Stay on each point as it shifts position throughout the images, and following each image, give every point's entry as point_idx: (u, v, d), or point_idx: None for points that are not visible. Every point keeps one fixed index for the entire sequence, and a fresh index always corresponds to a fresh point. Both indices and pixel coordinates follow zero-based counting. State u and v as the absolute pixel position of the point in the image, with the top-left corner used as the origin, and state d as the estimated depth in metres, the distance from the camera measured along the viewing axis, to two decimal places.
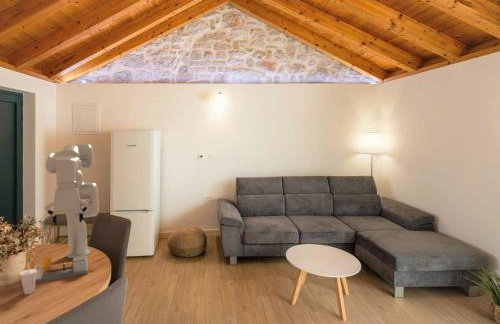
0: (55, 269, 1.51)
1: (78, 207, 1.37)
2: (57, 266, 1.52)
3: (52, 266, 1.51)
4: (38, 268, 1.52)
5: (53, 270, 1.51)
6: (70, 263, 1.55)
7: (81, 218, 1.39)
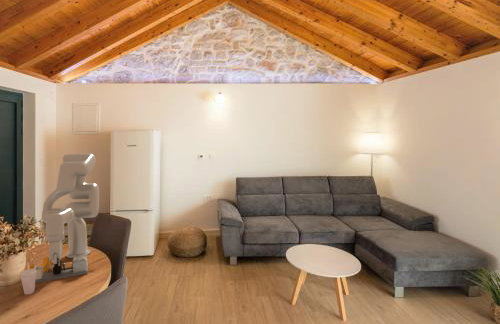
0: None
1: None
2: None
3: (52, 266, 1.51)
4: (38, 268, 1.52)
5: None
6: (70, 263, 1.55)
7: None
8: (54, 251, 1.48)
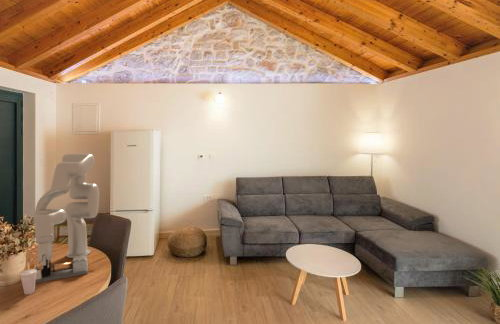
0: None
1: None
2: None
3: (41, 268, 1.49)
4: None
5: None
6: (60, 265, 1.53)
7: None
8: (43, 253, 1.46)
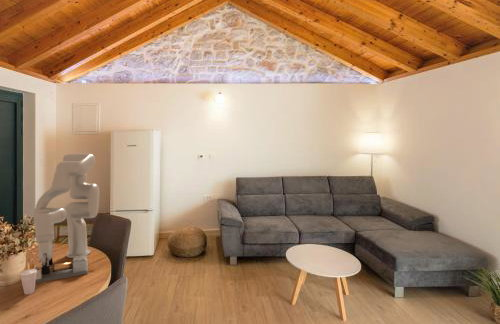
0: None
1: None
2: None
3: None
4: None
5: None
6: (60, 265, 1.53)
7: None
8: (43, 251, 1.46)
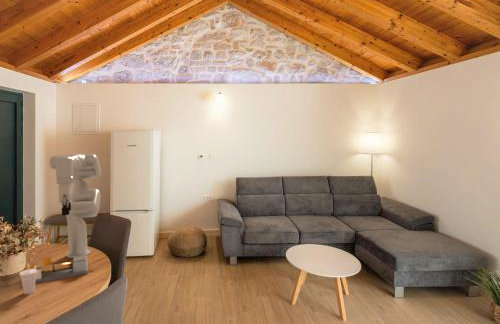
0: (44, 271, 1.49)
1: None
2: (46, 268, 1.50)
3: (41, 268, 1.49)
4: None
5: (42, 272, 1.49)
6: (60, 265, 1.53)
7: (69, 207, 1.64)
8: (64, 193, 1.53)
